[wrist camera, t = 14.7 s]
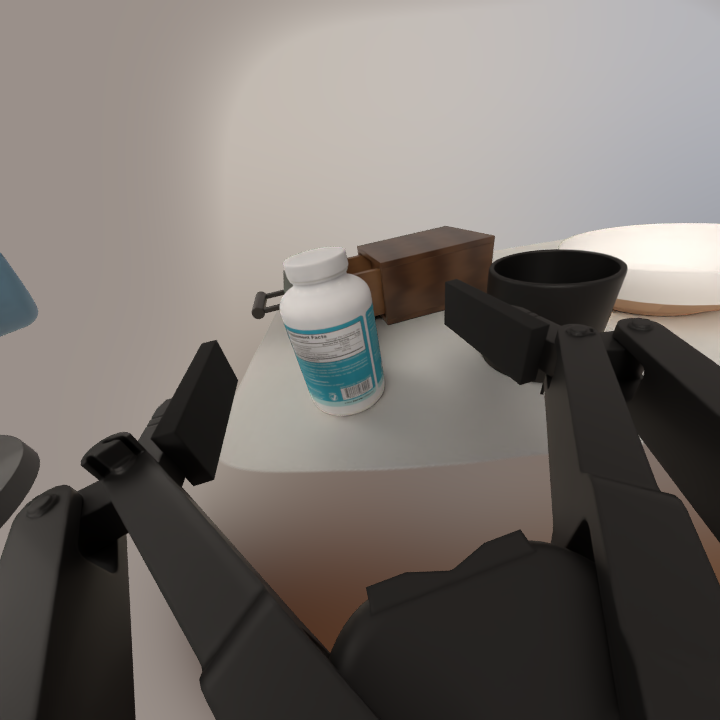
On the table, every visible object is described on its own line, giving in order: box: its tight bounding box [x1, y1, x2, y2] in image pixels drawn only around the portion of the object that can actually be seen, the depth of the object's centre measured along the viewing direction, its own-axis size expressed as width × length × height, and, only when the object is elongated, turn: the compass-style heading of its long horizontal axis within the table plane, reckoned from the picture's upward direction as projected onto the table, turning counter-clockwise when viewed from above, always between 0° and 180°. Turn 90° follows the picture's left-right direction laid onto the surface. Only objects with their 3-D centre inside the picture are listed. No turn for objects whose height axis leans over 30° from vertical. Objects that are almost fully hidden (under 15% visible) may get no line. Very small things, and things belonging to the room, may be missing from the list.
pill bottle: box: [280, 246, 385, 416], centre depth 23 cm, size 8×7×14 cm
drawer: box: [252, 255, 385, 319], centre depth 40 cm, size 20×11×7 cm, turn 105°
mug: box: [483, 249, 628, 382], centre depth 25 cm, size 9×12×9 cm
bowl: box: [558, 223, 720, 316], centre depth 31 cm, size 20×20×6 cm
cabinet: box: [357, 226, 495, 325], centre depth 41 cm, size 16×13×9 cm
